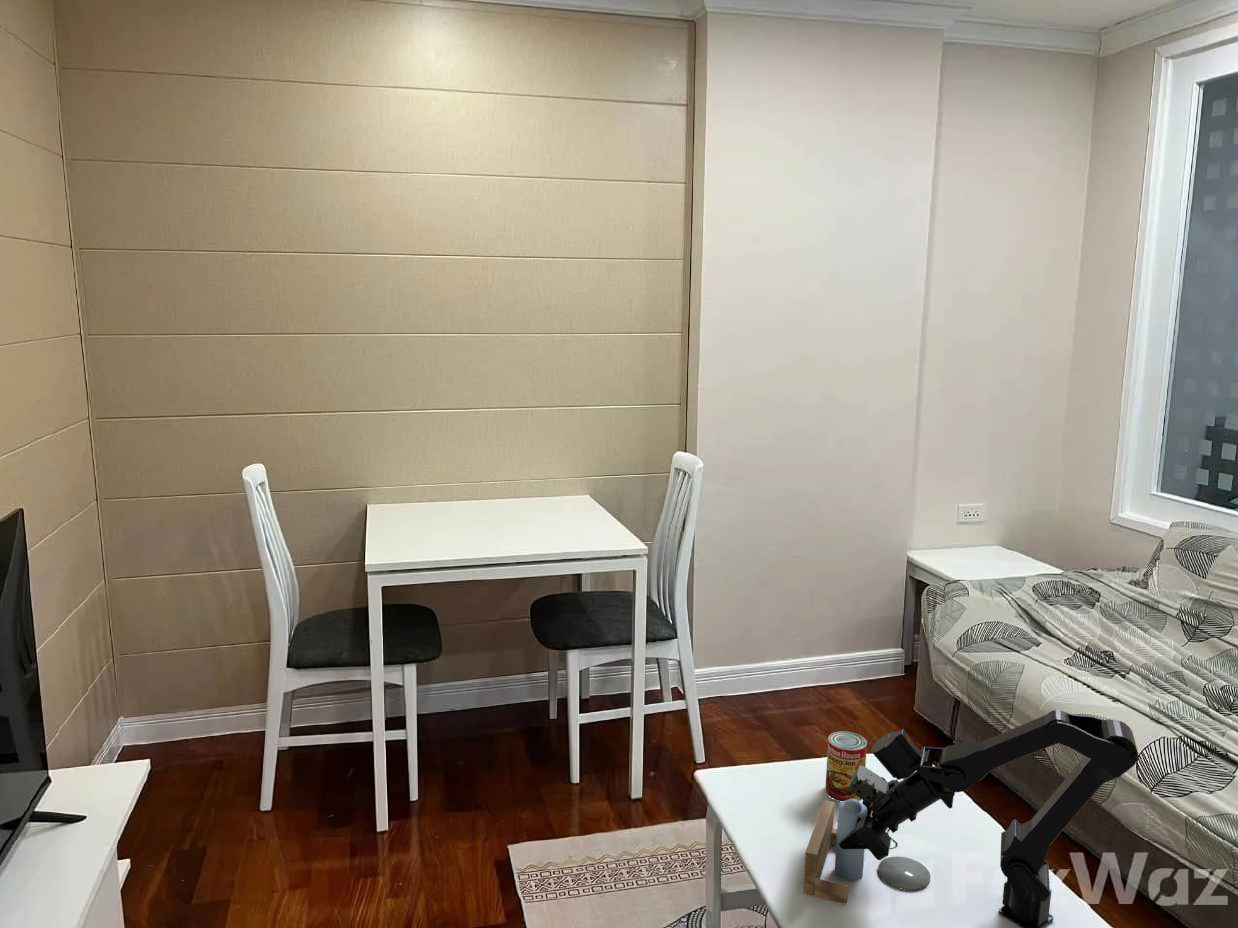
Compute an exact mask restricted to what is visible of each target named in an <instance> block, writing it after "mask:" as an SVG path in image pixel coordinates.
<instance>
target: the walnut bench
mask: <svg viewBox="0 0 1238 928" xmlns="http://www.w3.org/2000/svg"><path fill="white" fill-rule="evenodd" d="M834 813H835V801H831V800H830V801H829V800H825V799H823V801H822V805H821V806H820V810H819V813H818V815H817V818H816V821H815V825H814V827H813V829H812V833H811V836H810V838H809V840H808V841H809V842H808V843H807V847H806V850H805V855H804V872H803V890H802V891H803V892H802V893H803V894H806V895H809V896H812V897H817V898H821V899H825V900H828V901H829V900H830V901H833V902H837V903H840V904H844V903H845V904H844V905H847V903H848V899H849V885H845V884H842V883H837V882H833V881H830V880H826V879H823V878H821V877H822V873H823V871H824V867H825V865H826V864H825V863H826V861H827V858H828V855H829V851H830V848H831V845H832V846H836V839H837V828H834V818H835V817H834Z"/></svg>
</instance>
